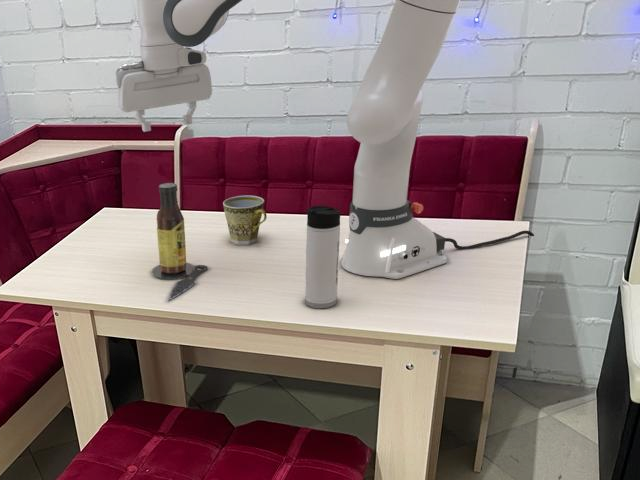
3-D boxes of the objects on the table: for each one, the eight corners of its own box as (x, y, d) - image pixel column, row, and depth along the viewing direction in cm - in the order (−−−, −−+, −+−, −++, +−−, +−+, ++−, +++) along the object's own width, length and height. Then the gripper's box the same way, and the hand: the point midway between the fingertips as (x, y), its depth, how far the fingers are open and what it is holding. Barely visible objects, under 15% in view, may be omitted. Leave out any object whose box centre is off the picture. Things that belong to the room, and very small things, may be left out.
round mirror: (186, 260, 180) (186, 259, 179) (201, 274, 171) (200, 273, 171) (146, 268, 178) (146, 266, 177) (159, 283, 169) (159, 281, 169)
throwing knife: (211, 268, 174) (211, 266, 174) (177, 303, 159) (177, 300, 159) (194, 266, 176) (194, 264, 176) (159, 300, 161) (158, 298, 161)
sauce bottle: (184, 275, 171) (179, 189, 161) (158, 275, 172) (151, 190, 162) (188, 264, 176) (183, 180, 166) (162, 264, 178) (156, 181, 168)
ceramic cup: (216, 241, 189) (214, 202, 184) (246, 230, 193) (245, 192, 188) (250, 253, 179) (249, 213, 174) (281, 242, 184) (281, 202, 179)
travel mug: (297, 300, 154) (299, 206, 144) (325, 293, 156) (328, 199, 146) (314, 311, 149) (317, 214, 139) (342, 304, 151) (347, 207, 141)
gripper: (118, 67, 149) (125, 137, 156) (213, 52, 153) (216, 122, 160) (110, 64, 155) (117, 132, 162) (202, 50, 159) (205, 117, 166)
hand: (167, 127), depth 161 cm, fingers open, 8 cm apart
